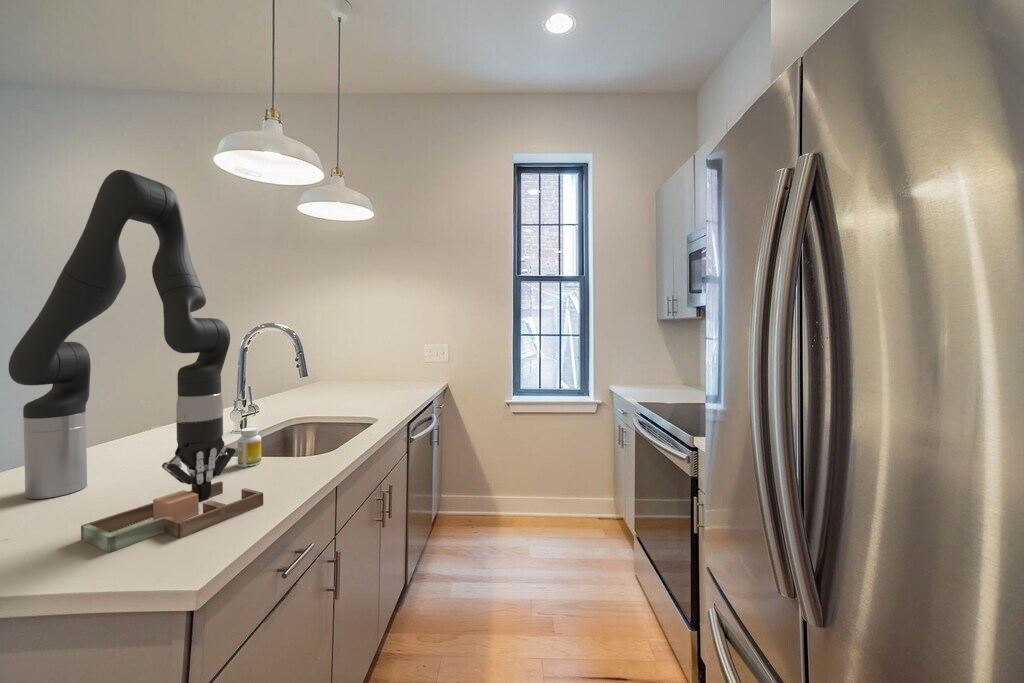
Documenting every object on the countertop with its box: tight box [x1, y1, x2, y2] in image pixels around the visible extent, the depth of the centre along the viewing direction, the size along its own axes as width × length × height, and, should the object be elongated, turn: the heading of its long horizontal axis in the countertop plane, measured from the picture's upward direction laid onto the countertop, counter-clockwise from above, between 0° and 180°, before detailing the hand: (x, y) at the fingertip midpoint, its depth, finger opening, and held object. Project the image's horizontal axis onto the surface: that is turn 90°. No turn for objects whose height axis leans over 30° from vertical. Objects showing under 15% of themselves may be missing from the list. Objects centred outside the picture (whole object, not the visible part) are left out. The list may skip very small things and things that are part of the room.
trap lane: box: [80, 480, 264, 553], centre depth 78 cm, size 15×23×2 cm, turn 156°
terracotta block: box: [152, 489, 200, 521], centre depth 79 cm, size 5×5×4 cm
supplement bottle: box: [237, 426, 262, 468], centre depth 110 cm, size 5×5×10 cm
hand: (201, 500), depth 84 cm, fingers closed
